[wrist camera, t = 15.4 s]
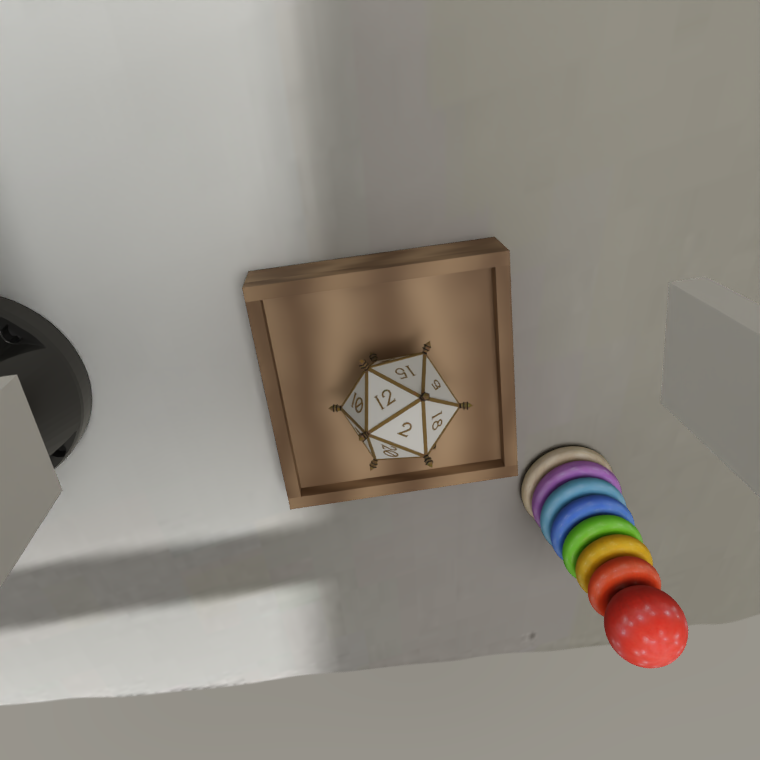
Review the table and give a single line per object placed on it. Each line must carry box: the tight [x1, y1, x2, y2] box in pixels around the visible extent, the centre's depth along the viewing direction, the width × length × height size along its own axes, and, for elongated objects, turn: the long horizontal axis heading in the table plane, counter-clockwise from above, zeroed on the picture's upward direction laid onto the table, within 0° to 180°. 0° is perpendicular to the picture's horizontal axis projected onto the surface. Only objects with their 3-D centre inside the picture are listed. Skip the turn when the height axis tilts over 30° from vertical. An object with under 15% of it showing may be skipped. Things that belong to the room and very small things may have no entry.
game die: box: [328, 341, 473, 471], centre depth 45 cm, size 9×8×10 cm
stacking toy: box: [521, 446, 688, 668], centre depth 49 cm, size 8×8×19 cm
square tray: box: [242, 237, 518, 509], centre depth 49 cm, size 18×18×4 cm
